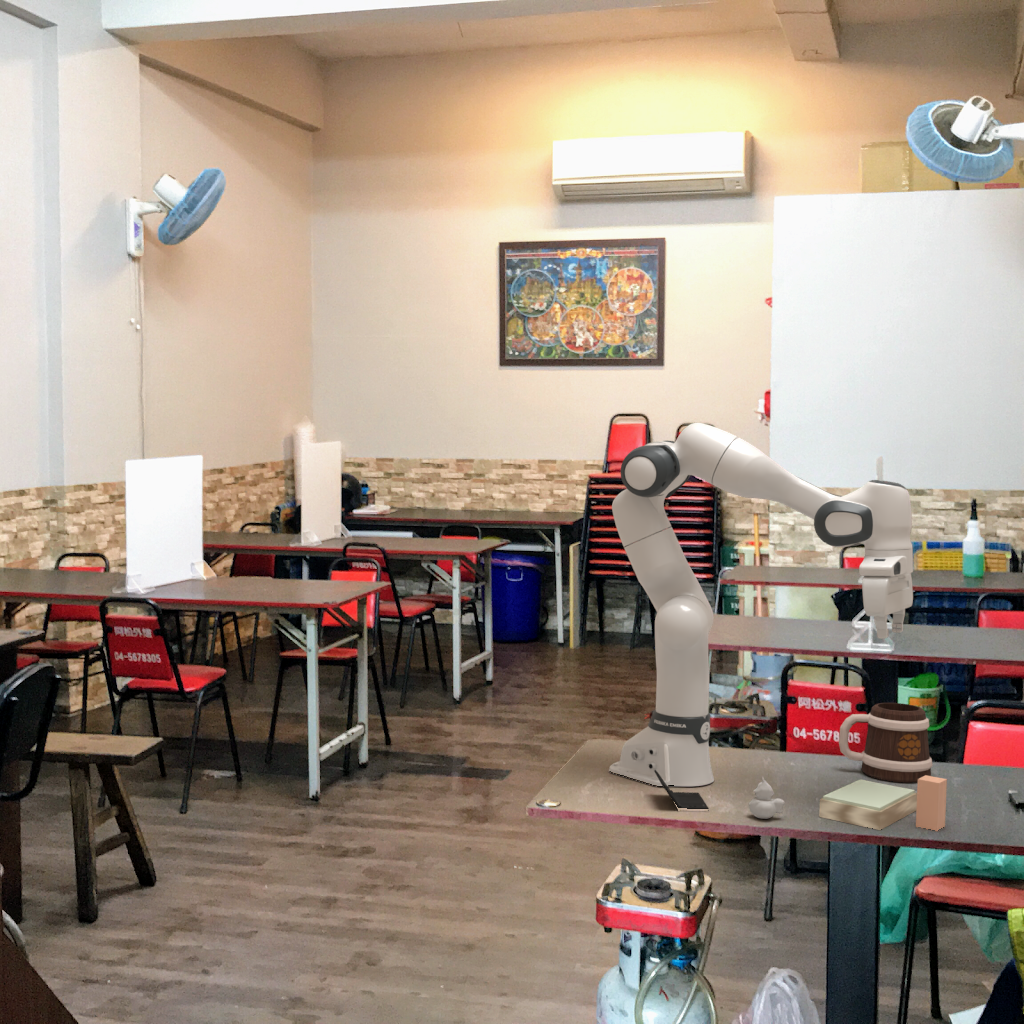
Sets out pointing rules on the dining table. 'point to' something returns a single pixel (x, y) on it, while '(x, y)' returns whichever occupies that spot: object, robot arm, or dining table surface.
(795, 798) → the dining table surface
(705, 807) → the handheld gaming console
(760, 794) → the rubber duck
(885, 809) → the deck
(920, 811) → the terracotta block
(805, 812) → the dining table surface
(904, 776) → the mug
